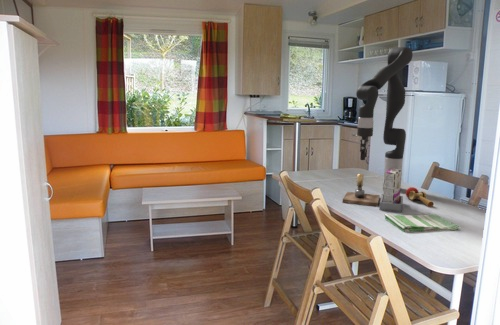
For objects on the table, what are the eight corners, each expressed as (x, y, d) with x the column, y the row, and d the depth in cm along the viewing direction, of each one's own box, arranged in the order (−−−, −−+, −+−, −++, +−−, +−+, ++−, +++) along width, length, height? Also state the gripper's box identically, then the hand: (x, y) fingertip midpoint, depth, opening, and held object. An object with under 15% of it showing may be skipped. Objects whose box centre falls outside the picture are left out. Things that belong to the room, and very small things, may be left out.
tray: (402, 203, 192) (402, 196, 192) (402, 212, 178) (402, 204, 177) (381, 201, 196) (381, 194, 195) (379, 209, 181) (379, 202, 181)
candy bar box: (388, 201, 193) (391, 168, 190) (399, 203, 190) (402, 169, 187) (381, 207, 184) (384, 171, 181) (392, 208, 181) (395, 173, 178)
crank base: (379, 197, 202) (379, 194, 202) (377, 206, 187) (377, 202, 187) (346, 194, 207) (347, 191, 207) (342, 202, 193) (342, 199, 192)
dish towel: (460, 231, 156) (461, 225, 155) (404, 233, 152) (404, 227, 152) (433, 217, 173) (434, 211, 173) (382, 219, 170) (382, 212, 169)
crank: (364, 197, 195) (365, 179, 193) (354, 197, 196) (356, 179, 194) (363, 191, 208) (364, 174, 206) (354, 190, 209) (356, 173, 207)
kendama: (438, 209, 188) (415, 194, 205) (439, 197, 186) (416, 183, 203) (423, 213, 187) (402, 197, 204) (423, 200, 185) (402, 186, 202)
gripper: (372, 128, 193) (370, 161, 196) (374, 125, 206) (372, 156, 209) (355, 127, 195) (354, 160, 198) (359, 124, 208) (357, 155, 211)
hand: (363, 158), depth 204 cm, fingers open, 8 cm apart
